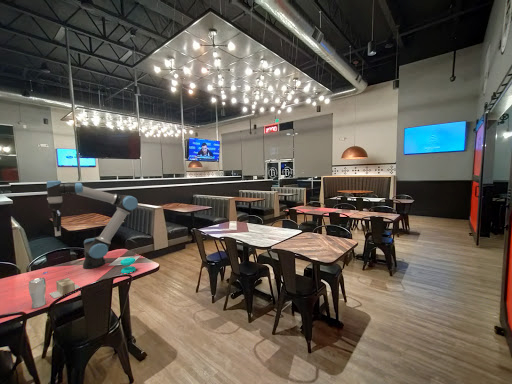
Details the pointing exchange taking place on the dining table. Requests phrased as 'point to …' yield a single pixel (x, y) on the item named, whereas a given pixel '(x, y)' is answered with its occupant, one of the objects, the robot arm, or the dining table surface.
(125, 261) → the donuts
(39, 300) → the beer glass
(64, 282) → the maple block
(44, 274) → the dining table surface
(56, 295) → the grey mat
